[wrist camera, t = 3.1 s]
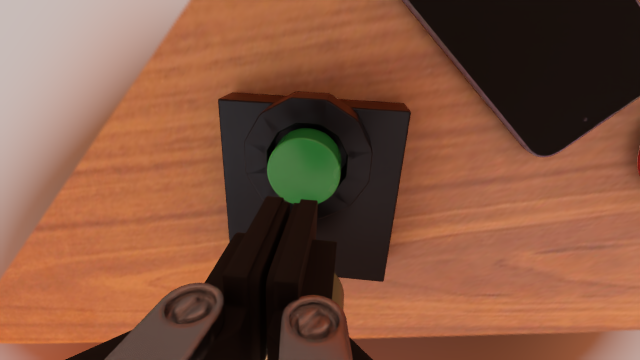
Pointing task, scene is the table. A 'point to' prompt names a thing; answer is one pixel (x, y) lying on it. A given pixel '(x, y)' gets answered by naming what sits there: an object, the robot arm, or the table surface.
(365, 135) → the lamp base
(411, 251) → the table surface
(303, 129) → the lamp switch
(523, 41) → the smartphone
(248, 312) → the robot arm
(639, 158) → the beverage can
